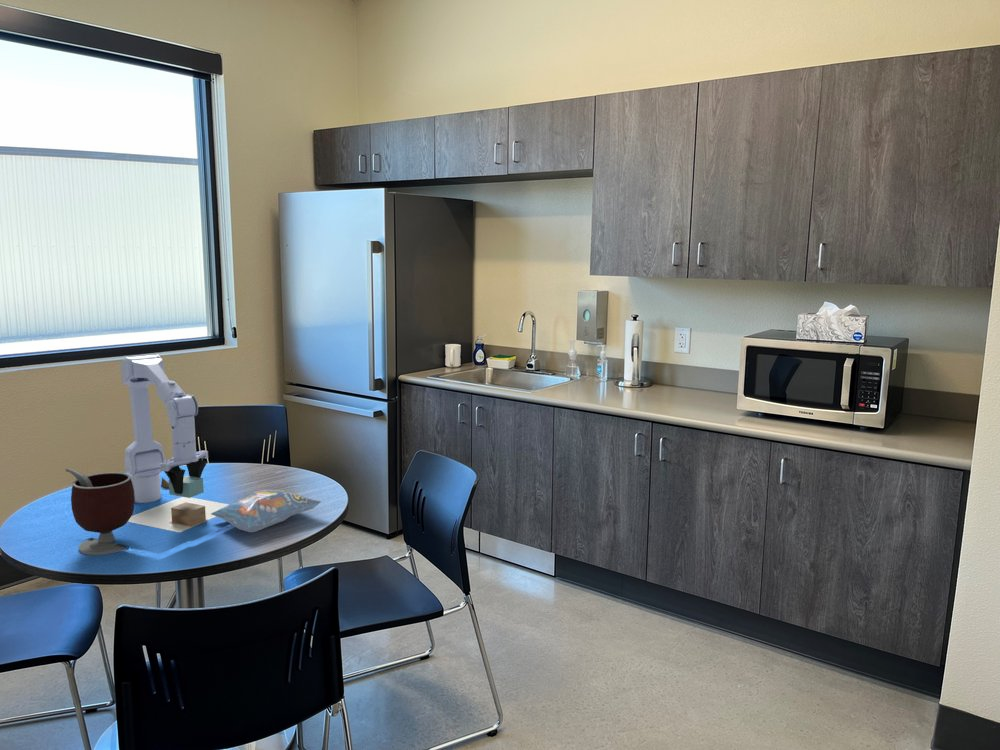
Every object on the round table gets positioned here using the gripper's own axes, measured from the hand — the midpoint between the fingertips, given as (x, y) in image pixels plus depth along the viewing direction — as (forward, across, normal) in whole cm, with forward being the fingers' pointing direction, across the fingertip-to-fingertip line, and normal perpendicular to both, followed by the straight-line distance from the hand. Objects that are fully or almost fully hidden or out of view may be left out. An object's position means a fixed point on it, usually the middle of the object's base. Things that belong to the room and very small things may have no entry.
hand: (186, 490), depth 196 cm
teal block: (+1, 0, 0) cm, 1 cm away
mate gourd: (+10, -19, +9) cm, 23 cm away
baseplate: (+10, +4, +6) cm, 12 cm away
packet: (+10, +11, -17) cm, 23 cm away
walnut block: (+9, 0, 0) cm, 9 cm away
